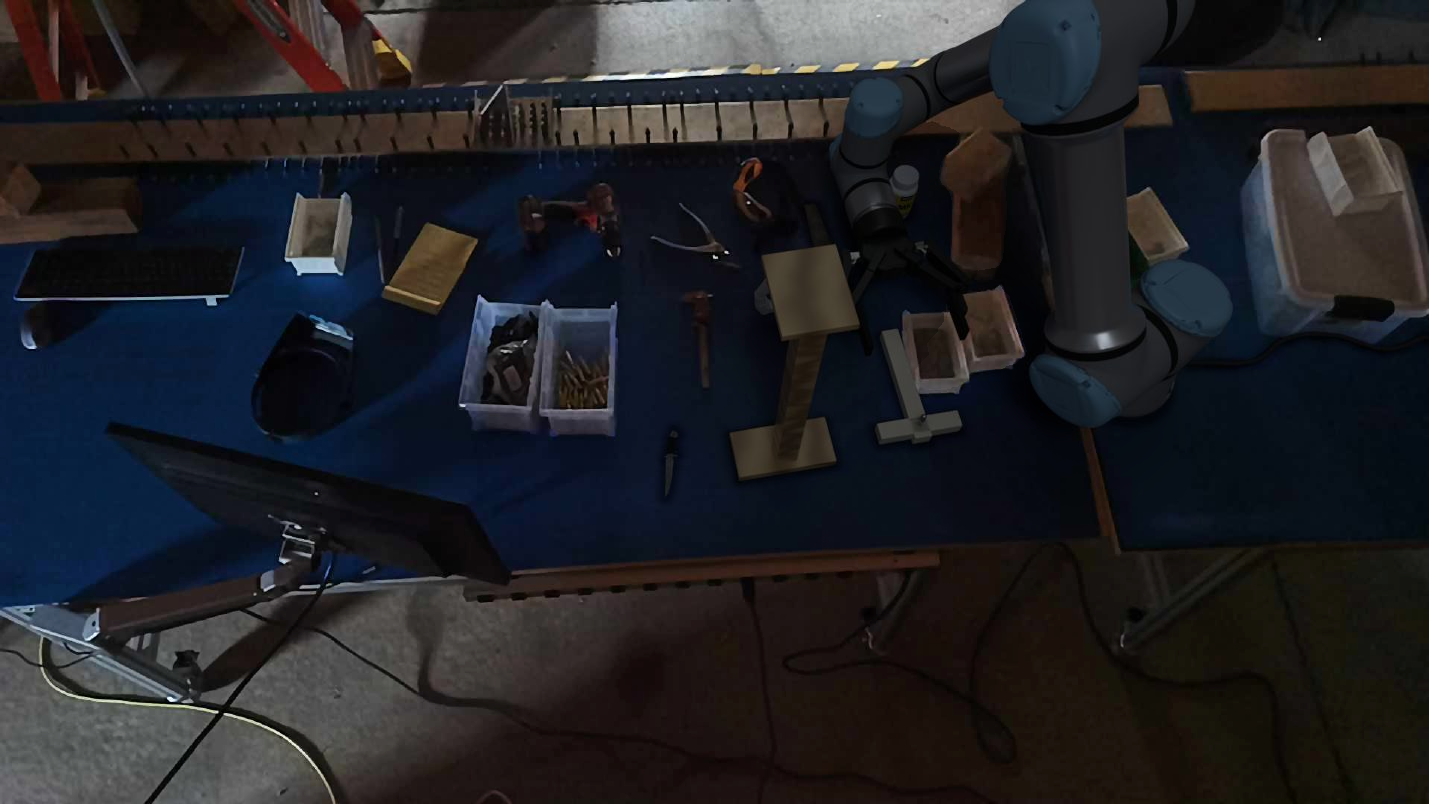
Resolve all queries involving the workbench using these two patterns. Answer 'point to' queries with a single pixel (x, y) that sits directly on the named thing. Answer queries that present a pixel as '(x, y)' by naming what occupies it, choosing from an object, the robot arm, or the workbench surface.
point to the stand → (798, 361)
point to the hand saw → (817, 227)
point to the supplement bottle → (905, 187)
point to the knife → (670, 461)
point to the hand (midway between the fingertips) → (917, 343)
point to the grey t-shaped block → (910, 401)
